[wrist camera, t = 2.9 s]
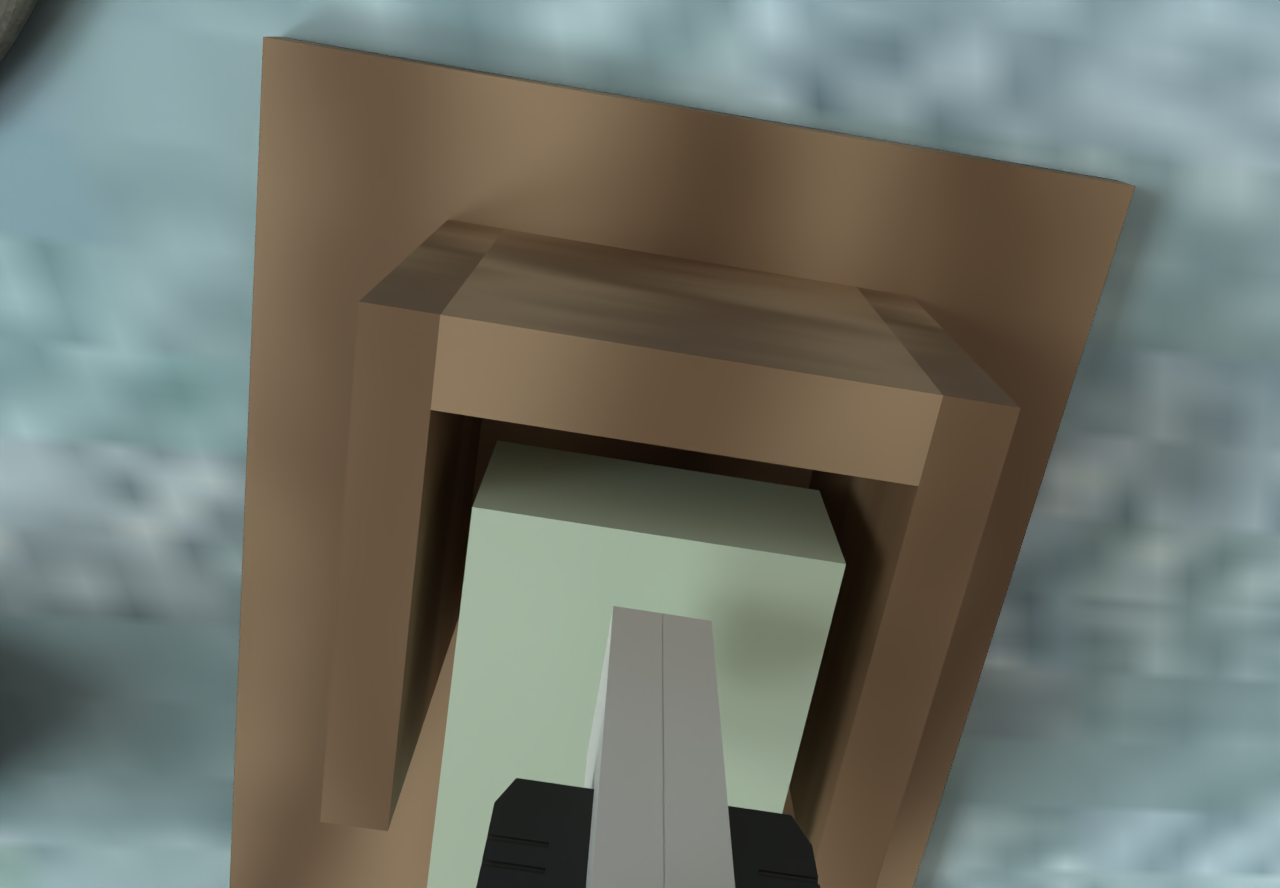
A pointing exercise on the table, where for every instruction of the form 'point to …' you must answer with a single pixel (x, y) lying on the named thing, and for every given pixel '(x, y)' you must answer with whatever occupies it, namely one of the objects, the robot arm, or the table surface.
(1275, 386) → the table surface
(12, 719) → the table surface
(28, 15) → the c clamp
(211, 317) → the table surface
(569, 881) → the robot arm
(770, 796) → the bar
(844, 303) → the cradle
